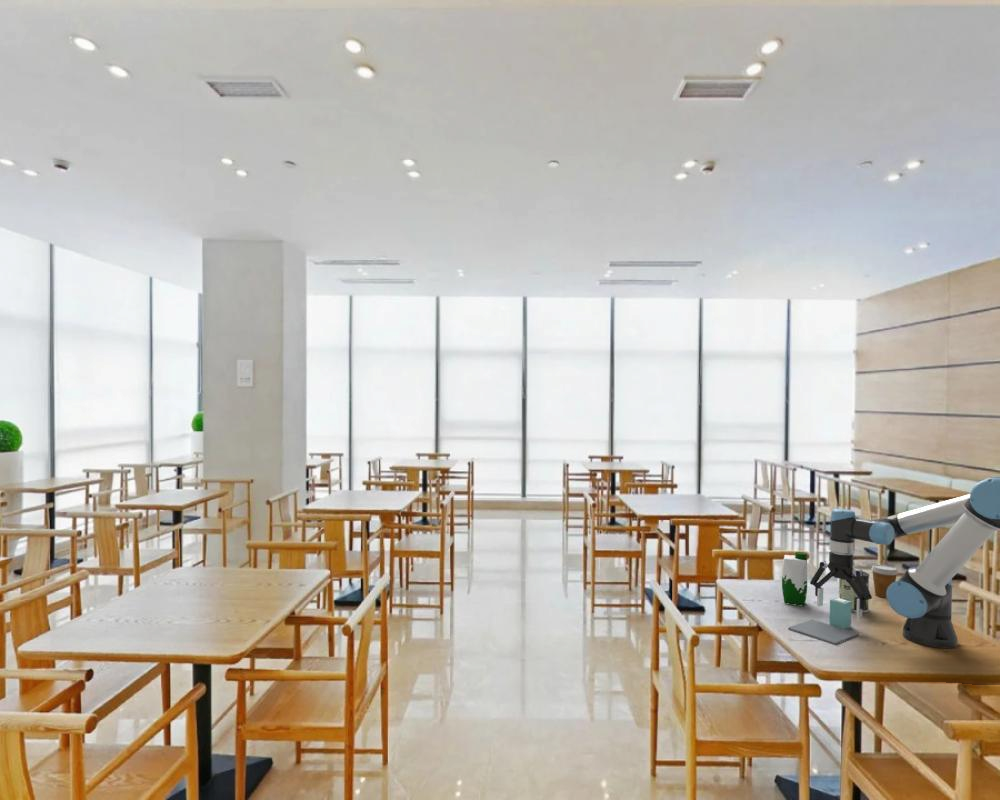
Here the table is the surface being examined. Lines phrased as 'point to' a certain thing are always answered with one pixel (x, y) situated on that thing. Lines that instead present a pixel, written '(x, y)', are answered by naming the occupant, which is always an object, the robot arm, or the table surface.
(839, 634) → the mat
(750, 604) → the table surface
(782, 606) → the table surface
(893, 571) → the disposable coffee cup
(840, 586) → the coffee can
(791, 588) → the milk carton
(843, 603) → the block
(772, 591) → the table surface
